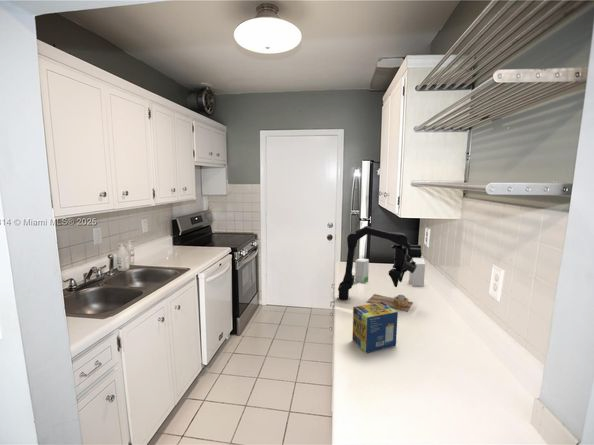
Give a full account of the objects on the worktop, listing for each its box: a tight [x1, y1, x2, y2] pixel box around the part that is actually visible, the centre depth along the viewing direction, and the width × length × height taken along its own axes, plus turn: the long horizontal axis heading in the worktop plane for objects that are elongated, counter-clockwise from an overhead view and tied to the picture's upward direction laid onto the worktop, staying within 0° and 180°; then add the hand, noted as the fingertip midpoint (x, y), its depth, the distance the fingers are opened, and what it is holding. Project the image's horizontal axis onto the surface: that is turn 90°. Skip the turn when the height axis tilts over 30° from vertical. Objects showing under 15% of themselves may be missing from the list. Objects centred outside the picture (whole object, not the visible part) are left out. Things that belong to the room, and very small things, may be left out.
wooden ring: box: [393, 295, 410, 308], centre depth 161 cm, size 7×7×4 cm
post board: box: [366, 293, 414, 313], centre depth 164 cm, size 14×22×6 cm, turn 57°
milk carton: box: [408, 255, 426, 287], centre depth 194 cm, size 7×7×19 cm
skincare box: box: [354, 258, 370, 285], centre depth 199 cm, size 8×7×16 cm
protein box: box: [351, 302, 399, 354], centre depth 126 cm, size 10×15×16 cm
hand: (398, 284), depth 162 cm, fingers open, 9 cm apart
